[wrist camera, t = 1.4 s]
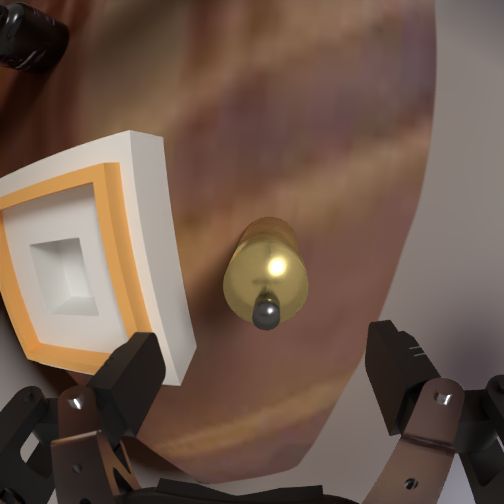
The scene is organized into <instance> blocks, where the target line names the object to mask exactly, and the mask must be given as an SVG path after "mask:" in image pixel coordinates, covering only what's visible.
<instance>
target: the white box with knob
mask: <svg viewBox="0 0 504 504" xmlns="http://www.w3.org/2000/svg"><path fill="white" fill-rule="evenodd" d="M0 291H1V294H2V297H3V300H4V303H5V306H6V309H7V311H8V314H9V317H10V319H11V322H12V325H13V327H14V329H15V332H16V334H17V337H18V339H19V341H20V343H21V346H22V348H23V350H24V352H25V354H26V356H27V358H28V359H30V360H33V361H37V362H40V363H42V364H46V365H50V366H53V367H58V368H62V369H66V370H71V371H76V372H81V373H86V374H91V375H95V374H96V372H97V371H98V370H99V369H100V367H101V366H102V365H104V362H105V361H106V360H107V359H109V356H110V355H111V354H112V353H113V351H114V350H115V349H117V348H118V347H120V346H121V345H123V344H124V343H127V341H128V340H129V339H130V338H131V336H132V335H133V334H134V333H135V332H154V333H155V334H156V336H157V338H158V342H159V345H160V348H161V352H162V355H163V358H164V362H165V365H166V376H165V379H164V381H163V383H162V384H165V385H177V386H180V385H181V383H182V381H183V378H184V376H185V373H186V371H187V369H188V366H189V364H190V362H191V359H192V357H193V355H194V352H195V350H196V347H197V346H196V342H195V337H194V333H193V328H192V324H191V319H190V314H189V310H188V305H187V300H186V295H185V290H184V284H183V279H182V274H181V268H180V263H179V257H178V251H177V245H176V239H175V232H174V226H173V219H172V212H171V205H170V197H169V190H168V182H167V173H166V164H165V155H164V144H163V137H159V136H155V135H150V134H146V133H141V132H136V131H131V130H129V131H125V132H121V133H118V134H114V135H111V136H107V137H104V138H101V139H98V140H94V141H91V142H88V143H85V144H82V145H79V146H76V147H74V148H71V149H68V150H65V151H63V152H60V153H57V154H55V155H52V156H50V157H47V158H45V159H42V160H40V161H37V162H35V163H33V164H30V165H28V166H26V167H24V168H21V169H19V170H17V171H15V172H13V173H11V174H8V175H6V176H4V177H2V178H0Z"/></svg>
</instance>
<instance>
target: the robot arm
mask: <svg viewBox="0 0 504 504" xmlns="http://www.w3.org/2000/svg"><path fill="white" fill-rule="evenodd" d="M365 367H366V372H367V375H368V377H369V380H370V383H371V385H372V388H373V390H374V393H375V396H376V399H377V401H378V404H379V407H380V410H381V413H382V415H383V418H384V421H385V424H386V427H387V430H388V432H389V435H390V436H393V435H396V434H401V437H400V439H399V441H398V443H397V445H396V447H395V449H394V451H393V453H392V455H391V457H390V458H389V460H388V462H387V464H386V465H385V467H384V469H383V471H382V472H381V474H380V476H379V477H378V479H377V481H376V482H375V484H374V486H373V487H372V489H371V491H370V492H369V494H368V495H367V496H366V498H365V499H364V501H363V502H362V504H437V501H438V499H439V497H440V494H441V492H442V490H443V487H444V484H445V481H446V479H447V476H448V473H449V471H450V468H451V465H452V462H453V459H454V455H455V453H458V454H459V456H460V459H461V462H462V464H463V467H464V470H465V473H466V475H467V478H468V481H469V484H470V487H471V490H472V493H473V496H474V500H475V503H476V504H504V452H503V450H502V448H501V446H500V444H499V442H498V440H497V437H498V436H499V438H500V439H501V441H502V444H503V446H504V375H497V376H494V377H492V378H491V379H490V380H489V381H488V383H487V386H486V388H485V389H482V390H464V389H463V387H462V386H461V385H460V384H459V383H458V382H456V381H455V380H452V379H449V378H442V377H441V376H440V375H439V373H438V372H437V370H436V369H435V367H434V366H433V364H432V363H431V362H430V360H429V359H428V357H427V355H426V354H424V351H423V350H422V348H421V347H420V345H419V344H418V343H417V341H416V340H415V339H414V337H412V336H411V335H409V334H408V333H406V332H405V331H401V332H398V330H397V329H396V327H395V326H394V324H393V323H392V322H391V320H385V321H377V322H371V323H370V324H369V329H368V338H367V346H366V354H365ZM165 376H166V365H165V362H164V358H163V355H162V352H161V348H160V345H159V342H158V338H157V336H156V334H155V333H154V332H135V333H134V334H133V335H132V336H131V338H130V339H129V340H128V341H127V343H124V344H123V345H121V346H120V347H118V348H117V349H115V350H114V351H113V353H112V354H111V355H110V356H109V359H107V360H106V361H105V362H104V365H102V366H101V367H100V369H99V370H98V371H97V372H96V374H95V375H94V376H93V377H92V379H91V380H90V381H89V382H88V384H87V385H86V386H82V385H80V386H74V387H71V388H69V389H67V390H65V391H64V392H63V393H62V394H61V395H60V397H59V398H45V396H44V394H43V393H42V391H41V389H40V388H38V387H36V386H29V387H25V388H23V389H21V390H20V391H18V392H17V393H16V394H15V395H14V397H13V398H12V399H11V400H10V401H9V402H8V404H7V405H6V406H5V407H4V408H3V409H2V411H1V412H0V504H47V503H48V501H49V499H50V497H51V495H52V492H53V491H54V489H55V490H56V496H57V502H58V504H359V503H357V502H354V501H352V500H349V499H346V498H342V497H339V496H333V495H325V494H323V488H322V485H318V486H306V487H292V488H291V487H290V488H278V489H273V490H268V491H263V492H259V493H253V494H247V495H240V496H235V495H230V494H227V493H224V492H220V491H217V490H214V489H211V488H207V487H204V486H202V485H199V484H194V483H186V482H181V481H174V480H169V479H164V478H160V480H159V483H158V486H157V487H150V488H143V489H142V488H141V487H140V485H139V483H138V481H137V479H136V477H135V474H134V472H133V470H132V467H131V464H130V462H129V459H128V456H127V453H126V450H125V448H124V445H123V443H122V441H121V438H122V437H123V435H126V436H131V437H136V435H137V433H138V431H139V429H140V427H141V425H142V423H143V421H144V419H145V417H146V415H147V413H148V411H149V409H150V407H151V405H152V403H153V401H154V399H155V397H156V395H157V393H158V391H159V389H160V387H161V385H162V383H163V381H164V379H165ZM31 432H32V433H33V434H34V435H35V437H36V438H37V439H38V440H39V444H38V445H37V447H36V448H35V450H34V451H33V453H32V454H31V456H30V457H29V459H28V461H27V462H26V463H25V462H24V461H23V460H22V458H21V455H20V450H21V447H22V445H23V444H24V442H25V441H26V440H27V438H28V437H29V435H30V434H31Z"/></svg>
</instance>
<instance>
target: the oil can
mask: <svg viewBox="0 0 504 504" xmlns="http://www.w3.org/2000/svg"><path fill="white" fill-rule="evenodd" d="M308 290H309V283H308V277H307V274H306V270H305V266H304V263H303V259H302V256H301V252H300V249H299V245H298V242H297V238H296V235H295V233H294V231H293V229H292V228H291V227H290V226H289V225H288V224H287V223H286V222H285V221H283V220H281V219H278V218H274V217H264V218H260V219H258V220H256V221H254V222H253V223H251V224H250V225H249V226H248V227H247V229H246V230H245V232H244V234H243V236H242V238H241V240H240V242H239V244H238V247H237V249H236V251H235V253H234V255H233V257H232V259H231V261H230V263H229V266H228V268H227V270H226V272H225V275H224V279H223V291H224V296H225V299H226V301H227V303H228V305H229V306H230V308H231V309H232V310H233V311H234V312H235V313H236V314H237V315H238V316H239V317H241V318H242V319H244V320H246V321H248V322H251V323H254V325H255V326H256V327H258V328H259V329H262V330H271V329H273V328H275V327H276V326H277V325H278V324H279V323H282V322H284V321H286V320H288V319H290V318H292V317H293V316H294V315H295V314H297V313H298V312H299V310H300V309H301V308H302V307H303V305H304V303H305V301H306V299H307V296H308Z"/></svg>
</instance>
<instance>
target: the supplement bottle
mask: <svg viewBox="0 0 504 504" xmlns="http://www.w3.org/2000/svg"><path fill="white" fill-rule="evenodd" d="M68 40H69V30H68V27H67V26H66V25H65V24H64V23H62V22H60V21H59V20H57V19H55V18H53V17H51V16H49V15H47V14H45V13H43V12H41V11H39V10H37V9H35V8H33V7H31V6H29V5H27V4H24V3H22V2H18V3H14V4H11V5H9V6H8V7H6V6H5V5H2V4H0V66H2V67H6V68H11V69H15V70H19V71H23V72H27V73H31V74H41V73H43V72H45V71H47V70H49V69H50V68H51V67H52V66H53V65H54V64H55V63H56V62H57V61H58V60H59V58H60V57H61V56H62V54H63V52H64V50H65V48H66V46H67V43H68Z"/></svg>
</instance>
